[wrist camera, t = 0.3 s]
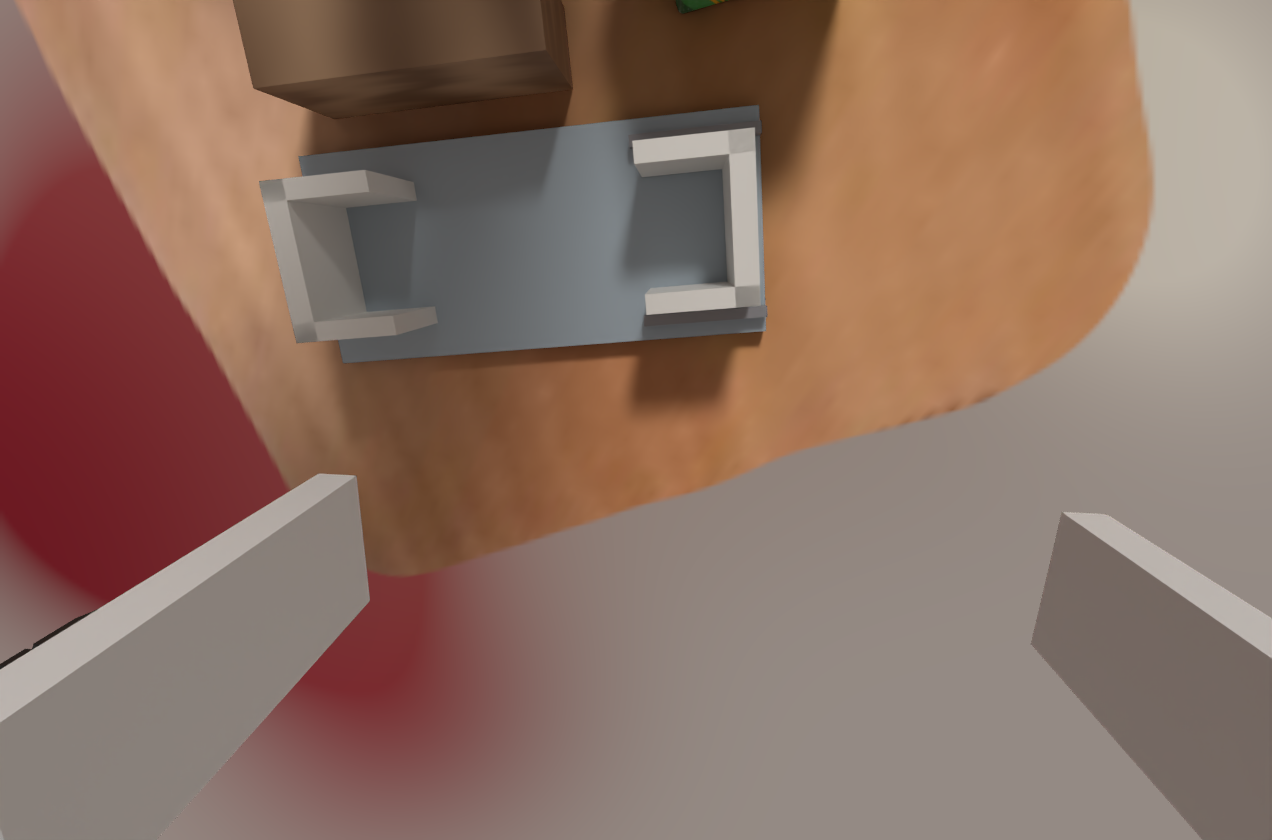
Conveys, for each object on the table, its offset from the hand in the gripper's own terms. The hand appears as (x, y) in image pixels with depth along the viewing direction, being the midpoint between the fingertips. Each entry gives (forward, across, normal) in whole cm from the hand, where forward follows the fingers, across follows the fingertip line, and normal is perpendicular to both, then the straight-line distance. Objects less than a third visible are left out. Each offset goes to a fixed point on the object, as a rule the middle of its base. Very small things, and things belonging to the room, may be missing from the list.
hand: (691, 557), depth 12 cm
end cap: (+25, 0, +7) cm, 26 cm away
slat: (+27, -14, +15) cm, 34 cm away
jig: (+26, -9, +6) cm, 29 cm away
